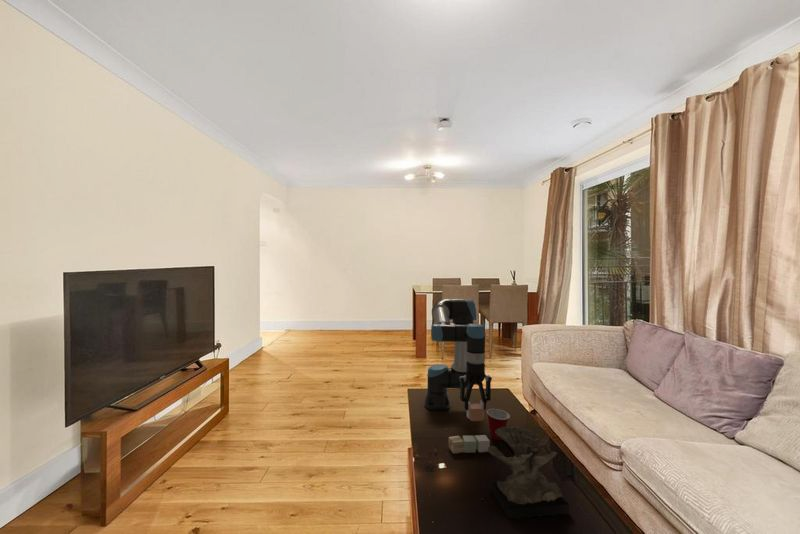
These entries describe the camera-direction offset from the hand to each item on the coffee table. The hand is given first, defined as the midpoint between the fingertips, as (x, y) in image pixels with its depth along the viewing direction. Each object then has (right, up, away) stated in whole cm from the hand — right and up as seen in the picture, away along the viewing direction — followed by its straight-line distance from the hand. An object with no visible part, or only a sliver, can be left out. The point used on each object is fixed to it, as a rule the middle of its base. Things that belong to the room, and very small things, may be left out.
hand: (475, 417), depth 139 cm
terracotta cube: (0, 0, 0) cm, 0 cm away
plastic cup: (+16, -20, +22) cm, 33 cm away
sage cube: (0, -20, +11) cm, 23 cm away
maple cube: (-6, -20, +11) cm, 23 cm away
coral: (+12, -20, -19) cm, 30 cm away
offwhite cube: (+6, -20, +12) cm, 24 cm away
